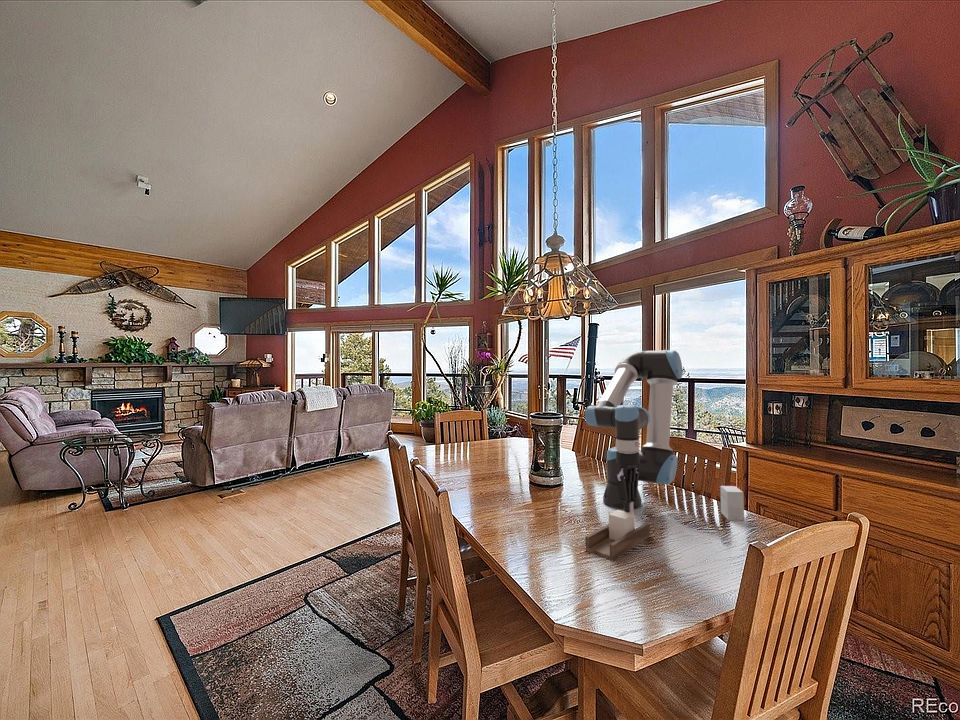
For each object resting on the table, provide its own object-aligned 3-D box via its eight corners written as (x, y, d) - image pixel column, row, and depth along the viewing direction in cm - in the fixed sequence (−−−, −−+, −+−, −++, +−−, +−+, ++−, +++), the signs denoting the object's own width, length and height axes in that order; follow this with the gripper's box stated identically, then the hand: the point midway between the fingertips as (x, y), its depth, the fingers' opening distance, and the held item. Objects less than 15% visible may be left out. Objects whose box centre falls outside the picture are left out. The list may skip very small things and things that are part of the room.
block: (609, 538, 149) (608, 514, 149) (618, 533, 153) (617, 509, 153) (625, 543, 145) (625, 518, 144) (634, 537, 149) (634, 513, 149)
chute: (585, 550, 143) (585, 536, 143) (623, 528, 159) (623, 516, 159) (613, 560, 136) (613, 545, 136) (650, 536, 152) (649, 523, 152)
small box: (744, 521, 163) (744, 492, 163) (727, 520, 165) (727, 491, 164) (736, 513, 171) (736, 485, 171) (720, 512, 172) (720, 485, 172)
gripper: (628, 456, 144) (629, 529, 145) (647, 449, 153) (648, 518, 154) (607, 452, 150) (608, 523, 150) (626, 446, 159) (627, 513, 159)
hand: (628, 520), depth 152 cm, fingers closed
